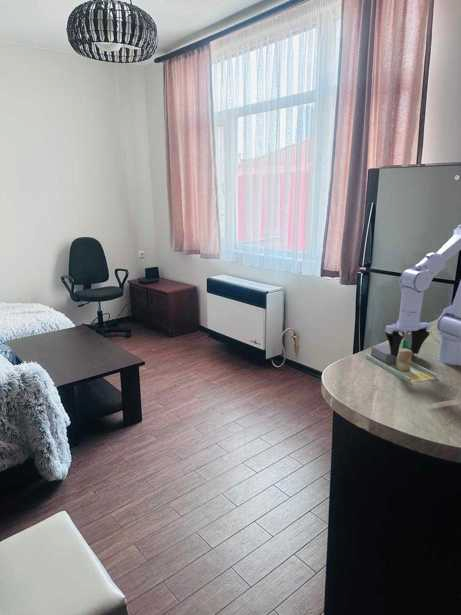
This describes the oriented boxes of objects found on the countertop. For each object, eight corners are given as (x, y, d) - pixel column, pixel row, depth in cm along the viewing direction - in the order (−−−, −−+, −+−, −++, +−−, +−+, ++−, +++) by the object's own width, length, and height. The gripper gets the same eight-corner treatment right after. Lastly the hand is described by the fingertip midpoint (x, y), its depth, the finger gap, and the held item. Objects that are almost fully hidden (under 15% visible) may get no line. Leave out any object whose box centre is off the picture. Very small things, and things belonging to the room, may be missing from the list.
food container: (421, 365, 135) (425, 335, 132) (400, 364, 136) (404, 334, 133) (412, 352, 146) (416, 324, 144) (394, 350, 147) (397, 323, 145)
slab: (389, 355, 140) (391, 344, 139) (404, 363, 133) (406, 351, 132) (370, 358, 137) (371, 346, 136) (384, 366, 131) (386, 354, 130)
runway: (390, 357, 141) (391, 351, 141) (436, 381, 123) (437, 374, 122) (364, 360, 138) (365, 354, 137) (408, 386, 120) (409, 378, 119)
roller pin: (403, 366, 131) (405, 347, 130) (412, 371, 128) (415, 352, 126) (392, 367, 130) (394, 349, 129) (401, 372, 126) (404, 353, 125)
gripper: (420, 305, 130) (414, 347, 134) (380, 308, 125) (375, 351, 129) (437, 311, 124) (431, 355, 127) (397, 314, 119) (391, 360, 122)
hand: (404, 354), depth 128 cm, fingers open, 7 cm apart
